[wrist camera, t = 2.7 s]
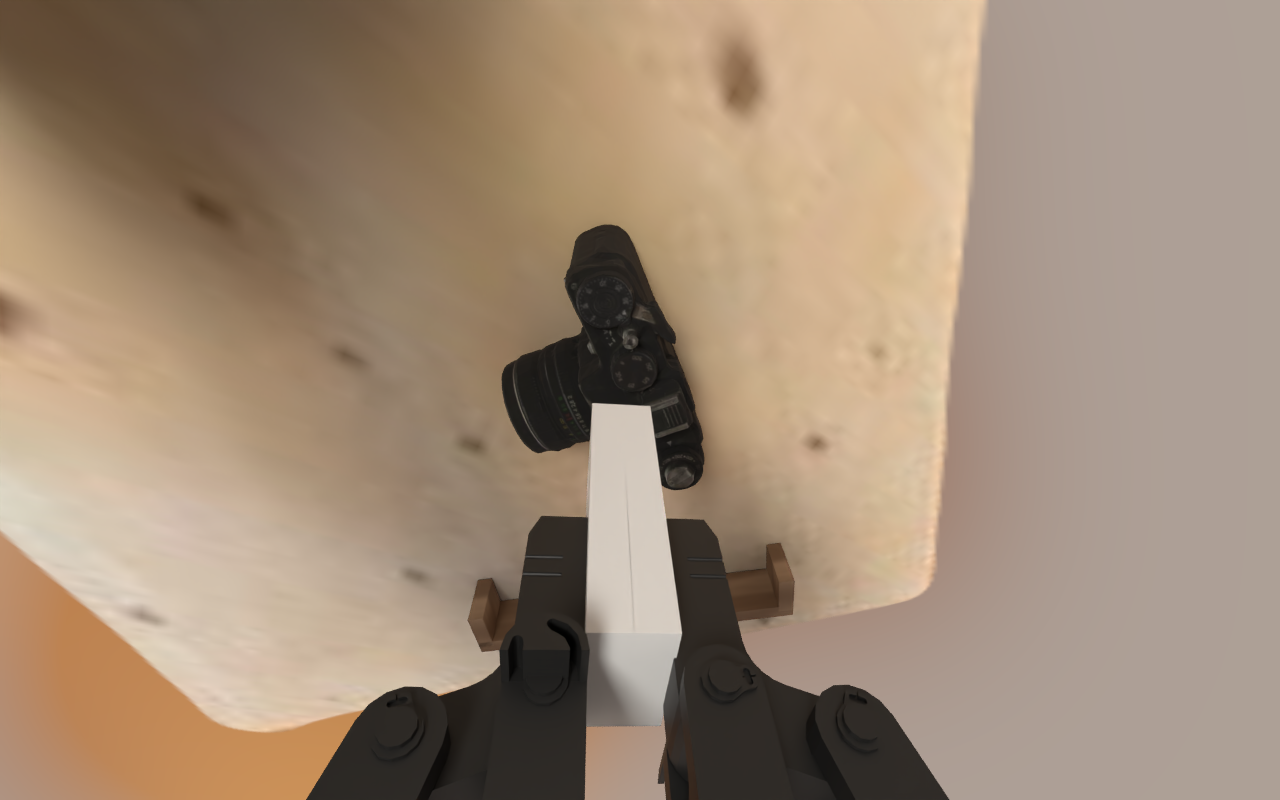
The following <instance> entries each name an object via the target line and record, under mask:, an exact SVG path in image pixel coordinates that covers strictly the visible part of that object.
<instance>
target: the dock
mask: <svg viewBox="0 0 1280 800" xmlns="http://www.w3.org/2000/svg"><path fill="white" fill-rule="evenodd" d="M726 579H727V580H728V584H729V588H730V592H731V596H732V600H733V605H734V609H735V613H736V617H737V621H743V620H751V619H760V618H768V617H776V616H785V615H793V600H794V578H793V575H792V573H791V570H790V567H789V565H788V562H787V559H786V556H785V554H784V551H783V548H782V546H781V543H777V544H768V545H767V553H766V569H759V570H751V571H742V572H734V573H726ZM517 606H518V599H513V600H505V601H500V598H499V596H498V593H497V591H496V588H495V585H494V583H493V580H492V578H491V579H483V580H478V582H477V586H476V590H475V594H474V598H473V602H472V606H471V610H470V614H469V618H468V622H469V624H470V626H471V629H472V631H473V633H474V635H475V637H476V640H477V642H478V644H479V646H480V649H481V651H482V652H486V651H494V650H500V647H501V644H502V642H503V639H504V637H505V634H506V633H507V632H508V631H509V630H510V629H511V628H512V627H513V626H514V625H515V619H516V612H517Z"/></svg>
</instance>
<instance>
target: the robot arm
mask: <svg viewBox="0 0 1280 800" xmlns="http://www.w3.org/2000/svg"><path fill="white" fill-rule="evenodd" d="M499 651H500V666H499V667H498V668H497V669H496V670H495V671H494V672H493V673H492V674H491V675H489V676H488V677H486V678H485V679H484V680H482V681H480V682H478V683H476V684H473V685H471V686H469V687H466V688H463V689H460V690H457V691H454V692H451V693H448V694H444V695H442V696H438V695H437V694H435V693H433V692H431V691H429V690H427V689H425V688H423V687H402V688H399V689H396V690H393V691H390V692H386V693H385V694H383V695H382V696H381V697H379V698H378V699H376V700H375V701H373V702H372V703H370V704H369V705H368V706H367V707H366V708H365V710H364V711H363V712H362V713H361V715H360V716H359V717H358V718H357V719H356V720H355V722H354V723H353V725H352V727H351V728H350V730H349V731H348V733H347V735H346V736H345V738H344V739H343V741H342V743H341V745H340V746H339V747H338V749H337V751H336V752H335V754H334V756H333V757H332V759H331V760H330V762H329V764H328V765H327V767H326V769H325V770H324V772H323V773H322V775H321V777H320V778H319V780H318V781H317V783H316V785H315V786H314V788H313V790H312V791H311V793H310V794H309V796H308V798H307V799H306V800H584V799H585V754H586V726H587V727H588V726H661V722H662V718H663V714H664V720H665V732H666V744H665V748H664V752H663V756H662V760H661V764H660V768H659V776H658V784H663V783H664V781H665V792H666V800H949V799H948V797H947V796H946V794H945V793H944V791H943V790H942V788H941V787H940V785H939V784H938V782H937V781H936V779H935V778H934V776H933V775H932V773H931V772H930V770H929V769H928V767H927V766H926V764H925V763H924V761H923V760H922V758H921V757H920V755H919V754H918V752H917V751H916V749H915V748H914V746H913V745H912V743H911V742H910V740H909V739H908V737H907V736H906V734H905V733H904V732H903V730H902V728H901V727H900V725H899V724H898V722H897V721H896V719H895V718H894V716H893V715H892V714H891V713H890V712H889V710H888V709H887V708H886V707H885V706H884V705H883V704H882V702H880V700H878V699H877V698H875V697H874V696H872V695H871V694H869V693H868V692H866V691H865V690H863V689H859V688H856V687H853V686H850V685H833V686H832V687H830V688H828V689H827V690H825V691H823V692H822V693H821V695H820V696H817V695H814V694H811V693H808V692H805V691H802V690H799V689H796V688H793V687H790V686H787V685H784V684H782V683H780V682H778V681H775V680H773V679H772V678H770V677H769V676H768V675H766V674H765V673H763V672H762V671H761V670H760V669H759V668H758V667H757V666H756V665H755V664H754V663H753V661H752V660H751V658H750V657H749V655H748V654H747V652H746V650H745V647H744V644H743V642H742V638H741V633H740V629H739V625H738V621H737V617H736V613H735V609H734V605H733V600H732V596H731V592H730V588H729V584H728V580H727V579H726V572H725V567H724V563H723V562H722V555H721V551H720V547H719V543H718V538H717V537H716V535H715V534H714V533H713V531H712V530H711V529H710V527H709V526H708V525H707V523H706V522H705V521H704V520H693V519H666V515H665V508H664V501H663V493H662V486H661V479H660V472H659V465H658V458H657V451H656V443H655V436H654V429H653V422H652V415H651V408H650V406H637V405H618V404H600V403H592V417H591V433H590V448H589V463H588V478H587V501H586V517H557V516H541V517H540V519H539V520H538V522H537V523H536V524H535V526H534V527H533V529H532V530H531V531H530V533H529V535H528V542H527V548H526V555H525V561H524V567H523V576H522V580H521V587H520V593H519V599H518V606H517V612H516V619H515V625H514V626H513V627H512V628H511V629H510V630H509V631H508V632H507V633H506V634H505V637H504V639H503V642H502V644H501V647H500V650H499Z"/></svg>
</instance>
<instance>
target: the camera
mask: <svg viewBox="0 0 1280 800" xmlns="http://www.w3.org/2000/svg"><path fill="white" fill-rule="evenodd" d="M564 281H565V288H566V290H567V293H568V295H569V298H570V300H571V302H572V304H573V307H574V309H575V311H576V313H577V315H578V317H579V319H580V321H581V322H582V324H583V327H582V330H581V333H580V334H579V335H577V336H574V337H571V338H565V339H562V340H560V341H558V342H556V343H554V344H551V345H548V346H546V347H545V348H544V349H542V350H537V351H534V352H531V353H528V354H525V355H523V356H521V357H520V358H519V359H518V360H516V361H513V362H511V363H510V364H508V365H507V366H506V367H505V368H504V371H503V373H502V391H503V397H504V402H505V406H506V409H507V412H508V415H509V418H510V420H511V422H512V424H513V426H514V428H515V430H516V432H517V434H518V435H519V437H520V439H521V440H522V442H523V443H524V444H525V445H526V446H527V447H528V448H530V449H531V450H532V451H534V452H536V453H542V452H545V451H560V450H562V449H565V448H569V447H571V446H573V445H574V444H575V443H581V442H585V441H589V440H590V433H591V417H592V403H600V404H618V405H637V406H650V408H651V415H652V422H653V429H654V436H655V443H656V451H657V458H658V465H659V472H660V479H661V485H662V486H664V487H666V488H668V489H671V490H682V489H687V488H689V487H692V486H694V485H695V484H696V483H697V482H698V481H699V479H700V478H701V476H702V473H703V465H704V453H703V449H702V446H701V443H702V440H703V434H702V429H701V426H700V423H699V420H698V418H697V416H696V412H695V404H694V401H693V398H692V394H691V391H690V388H689V385H688V383H687V381H686V378H685V375H684V372H683V370H682V367H681V365H680V362H679V360H678V358H677V355H676V353H675V350H674V347H673V345H672V343H673V344H675V341H676V336H675V333H674V331H673V329H672V328H671V326H670V325H669V324H668V323H667V321H666V319H665V317H664V315H663V313H662V311H661V309H660V308H659V306H658V304H657V302H656V301H655V298H654V296H653V294H652V291H651V289H650V287H649V284H648V281H647V278H646V276H645V273H644V271H643V268H642V266H641V263H640V261H639V258H638V255H637V253H636V250H635V247H634V245H633V243H632V241H631V239H630V237H629V235H628V234H627V233H626V231H624V230H623V229H622V228H620V227H619V226H614V225H601V226H597V227H595V228H592V229H590V230H588V231H586V232H584V233H582V234H581V235H580V236H579V237H578V238H577V240H576V241H575V246H574V250H573V256H572V260H571V265H570V268H569V269H568V270H567V274H566V277H565V278H564Z"/></svg>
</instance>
